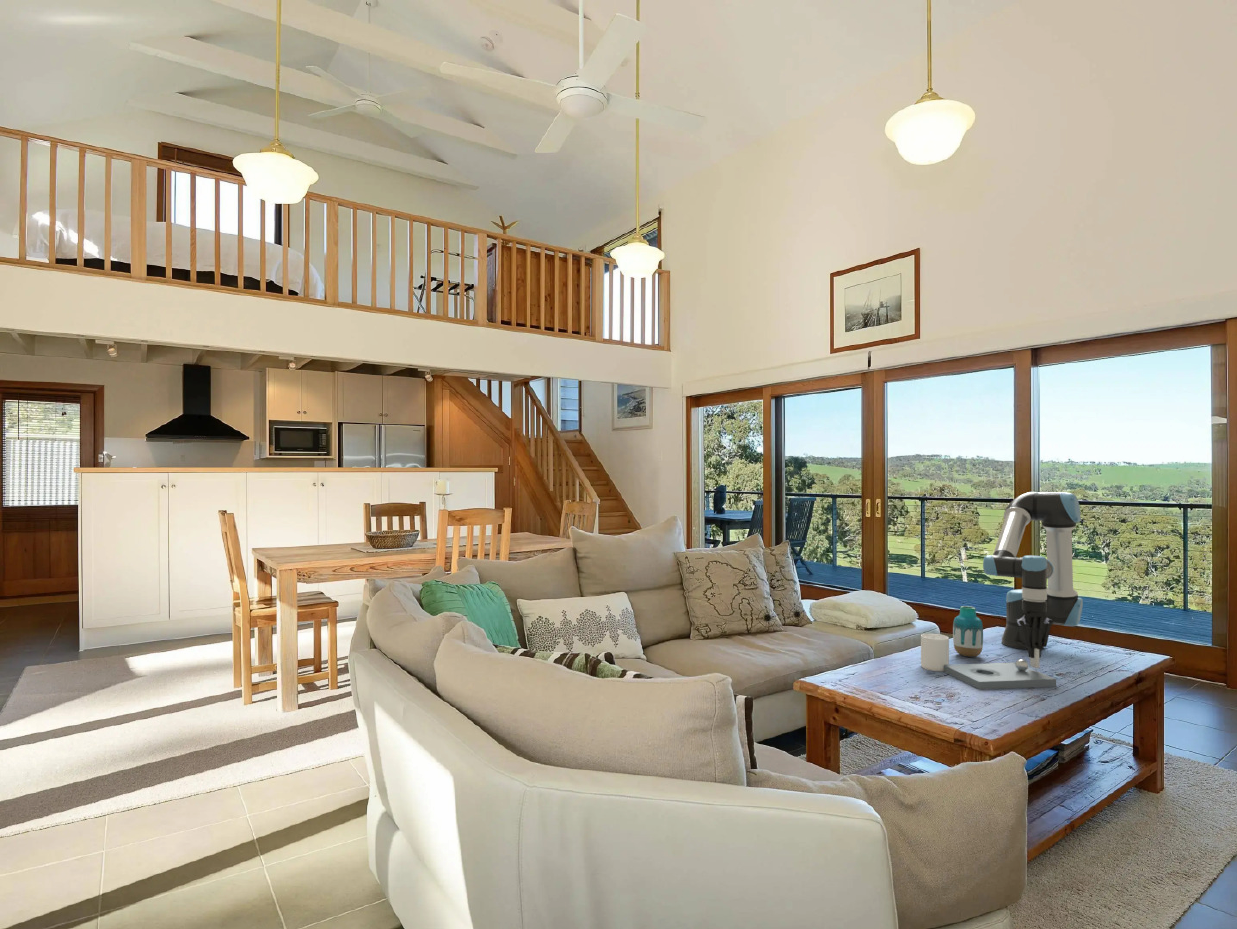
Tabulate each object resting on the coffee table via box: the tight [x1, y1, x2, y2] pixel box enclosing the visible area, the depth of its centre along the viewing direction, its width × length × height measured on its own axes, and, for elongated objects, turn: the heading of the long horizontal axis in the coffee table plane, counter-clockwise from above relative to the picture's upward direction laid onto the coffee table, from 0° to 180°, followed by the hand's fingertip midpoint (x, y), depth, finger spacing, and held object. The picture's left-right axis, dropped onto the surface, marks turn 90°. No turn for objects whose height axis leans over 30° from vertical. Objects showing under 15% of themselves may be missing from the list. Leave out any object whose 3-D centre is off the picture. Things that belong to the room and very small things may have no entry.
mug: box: [920, 633, 950, 673], centre depth 254 cm, size 10×12×12 cm
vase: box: [952, 605, 984, 658], centre depth 269 cm, size 11×11×19 cm
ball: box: [1014, 658, 1029, 671], centre depth 240 cm, size 4×4×4 cm
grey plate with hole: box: [943, 662, 1057, 690], centre depth 239 cm, size 28×20×2 cm
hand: (1034, 666), depth 241 cm, fingers closed
